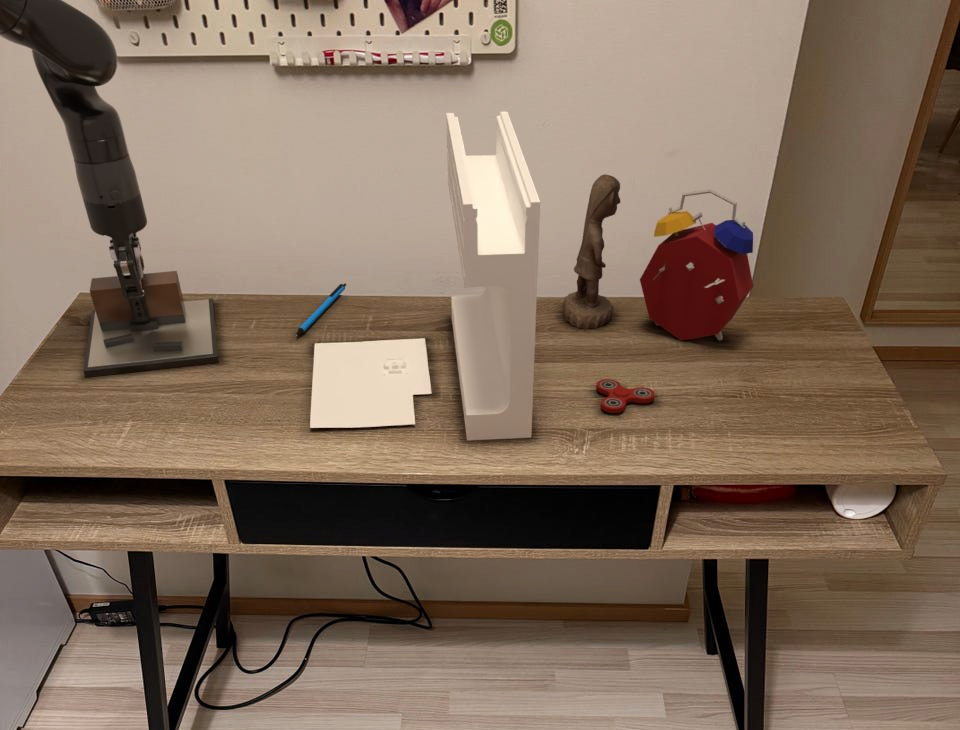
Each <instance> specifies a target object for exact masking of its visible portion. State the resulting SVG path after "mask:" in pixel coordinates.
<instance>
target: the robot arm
mask: <svg viewBox="0 0 960 730" xmlns="http://www.w3.org/2000/svg"><path fill="white" fill-rule="evenodd" d="M0 37H1V38H3V39H5V40H6V41H9V42H11V43H13V44H16V45H19V46H22V47H25V48H27V49H30V50H31V54H32V59H33V62H34V65H35V67H36V70H37V73H38V75H39V78H40V80H41V82H42V84H43V86H44V88H45V90H46V92H47V94H48V96H49V98H50V100H51V102H52V104H53V106H54V108H55V109H56V111H57V113H58V115H59V117H60V118H61V120H62V122H63V125H64V129H65V132H66V136H67V140H68V144H69V147H70V150H71V154H72V157H73V163H74V167H75V168H74V169H75V174H76V180H77V184H78V187H79V190H80V194H81V197H82V198H81V199H82V201H83V204H84V208H85V211H86V215H87V219H88V223H89V227H90V229H91V231H93V232H94V233H95V234H97V235H100V236H103V237H104V236H106V237H109V238H110V239H109V246H108V249H109V254H110V259H112V260H113V269H115V272H116V276H118V279H119V282H120V285H121V288H122V291H123V296H124V297H125V299H128V300H129V304H130V308H131V311H132V315H133V319H134V321H135V322H137V323H139V322H148V321H149V318H150V317H149V313H148V309H147V305H146V301H145V297H144V294H145V292H144V290H143V286H142V282H141V279H142V278H143V277H144V274H145V273H144V271H145V261H144V257H143V254H142V253H143V252H142V244H141V240H140V237H139V236H138V235H137V234H138V233H139V232H141V231H142V230H144V229H145V228H146V227H147V225H148V219H147V215H146V211H145V207H144V201H143V197H142V194H141V190H140V186H139V181H138V177H137V173H136V169H135V167H134V165H133V161H132V159H131V156H130V153H129V149H128V144H127V139H126V135H125V131H124V127H123V123H122V121H121V118H120V115H119V113H118V111H117V109H116V108H115V107H114V106H113V105H111V104H110V103H108V102H107V101H105V100H104V99H103V98H102V97H101V96H100V94H99V93H98V91H97V88H96V87H101V86H104V85H106V84H107V83H109V82H110V81H111V80H112V79H113V78H114V76H115V74H116V72H117V69H118V54H117V49H116V46H115V44H114V42H113V40H112V39H111V37H110V35H109V33H108V32H107V31H106V30H105V29H104V28H103V26H101V25H100V24H99V23H98V22H97V21H96V20H95V19H93V18H92V17H90V16H89V15H88V14H85V12H82V11H81V10H79V9H78V8H76V7H74V6H73V5H71V4H69V3H68V2H66V1H64V0H0ZM128 285H135V286H136V288H132V289H129V288H128Z"/></svg>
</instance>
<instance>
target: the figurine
mask: <svg viewBox="0 0 960 730" xmlns="http://www.w3.org/2000/svg"><path fill="white" fill-rule="evenodd" d="M620 190H621V182H620V181H619V179H618V178H616V177H615V176H613V175H609V174H602V175H599V176H598V177H597V178H596V179H595V180H594V182H593V183H592V186H591V189H590V193H589V197H588V198H589V199H588V203H587V209H586V213H585V219H584V225H583V231H582V232H583V233H582V239H581V240H582V241H581V245H580V248H579V250H578V253H577V257H576V263H575V266H574V267H573V271H574V273H575V274H577V280H576V287H577V289H576V291H574V292H571V293H568V294H567V295H566V296H564V299H563V303H562V305H563V306H562V307H563V308H562V311H563V318H564V320H565V322H568V323H569V324H570V325H571V326H574V327H576V328H577V329H585V330H589V329H597V328H599V327H602V326H604V325H605V324H607V323H609V321H610V320H611V319H612V315H613V305H612V302H611V301H610V300H609V299H608V298H607V297H606V296H605V295H600V294H599V291H600V288H599V287H600V285H599V283H600V280H601V279H602V278H603V268H604V269H605V268H606V267H607V264H606V263H605V262H604V261H603V251H604V248H605V239H603V238H604V237H603V233H604V228H603V222H604V219H606V218H610V217H612V216H614V215H616V213H617V211H618V205H619V204H621V198H620V195H619V194H620V193H619V192H620Z"/></svg>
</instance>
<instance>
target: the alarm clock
mask: <svg viewBox="0 0 960 730" xmlns="http://www.w3.org/2000/svg"><path fill="white" fill-rule="evenodd" d="M705 194H712V195H714V196H716V197H717V198H719V199H720V200H723V201H725V202H727V203H729V204H731V205H732V216H731V219H726V220H724V221H722V222H720V223H718V224H715V223H714V222H710V223H709V222H708V223H705V224H703V223H702V221H701V218H702V217H703V216H704V214H703V213H702V212H699V213H697V214H696V215H694V216H693V215H692V213H690V211H688V210H683V209H684V204H685V199H686V197H689V196H690V197H691V196H697V195H698V196H699V195H705ZM737 205H738V202H736V201H735V200H732V199H730V198H728V197H727V196H725V195H723V194H721V193H719V192H717V191H715V190H713V189H703V190H697V191H696V190H695V191H689V192H682V194H681V199H680V203H679V207H677V208H674V209H673V207H669V208H668V210H669V212H667V215H665V216H663V217H661V218H660V219H658V220H657V222H656V225H655V229H654V233H653V237H654V238H657V237H665V236H668V237H666V238H665V239H664V240H663V241H662V242H660V243H659V244H658V246H657V247H656V249H655V251H654V252H653V255H652V257H651V258H650V260H649V261H648V263H647V265H646V267H645V269H644V271H643V273H642V275H641V276H640V278H639V283H640V286H641V291H642V294H643V298H644V302H645V306H646V310H647V311H646V312H647V314H648V319H650V320H651V321H653V322H654V324H655V326H657V327H659V326H660V327H661V328H663V329H664V330H665V331H667V332H668V333H670V334H672V336H674V337H675V338H676V339H678V340H680V341H686V340H691V339H698V338H704V337H710V336H715V337H716V339H717V340H718V341H722V340H723V332H722V330H723V329H724V328H725V327H726V326H727V325H728V324H729V323H730V322H731V321H732V319H733V318H734V316H735V315H736V313H737V312H738V310H739V309H740V308H741V306H742V305H743V303H744V301H745V300H746V298H747V297H748V295H749V294H750V292H751V291H752V289H753V288H754V284H753V283H754V281H753V277H752V272H751V266H750V261H749V256H748V254H752V253H753V252H754V232H753V231H752V230H751V228H749V227H748V225H746V221H745V220H743V221H742V222H741V221H740V220H738V218H737V217H736V216H737V207H738V206H737ZM681 210H683V211H681ZM697 221H699V223H700V225H696V226H693V225H695V224H697ZM691 226H693V227H691Z"/></svg>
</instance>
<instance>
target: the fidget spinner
mask: <svg viewBox="0 0 960 730" xmlns="http://www.w3.org/2000/svg"><path fill="white" fill-rule="evenodd" d="M595 389H596V391H597V392H598V393H600V394H602V395H606V397H604V398H602V399H601V401H600V408H601V409H602V411H604V412H607V413H610V414H618V413H621V412H623V411H625V409H626V404H628V403H639V404H648V403H651V402H653V401H654V399H655V394H656V393H655V391H654V390H653V389H651V388H648V387H644V386H638V387H633V388H627V387H623V386H622V385H621V383H620V382H619V381H618V380H616V379H612V378H602V379H600V380H598V381H597V382H596V386H595Z"/></svg>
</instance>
